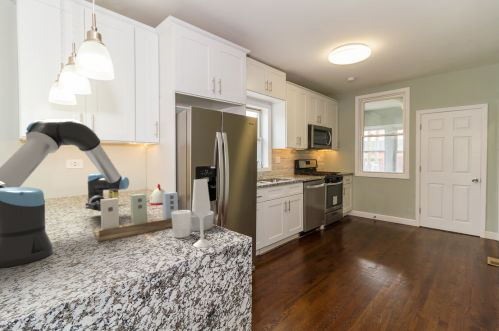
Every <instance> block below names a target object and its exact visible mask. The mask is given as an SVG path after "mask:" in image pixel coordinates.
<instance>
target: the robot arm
mask: <svg viewBox="0 0 499 331" xmlns="http://www.w3.org/2000/svg"><path fill="white" fill-rule="evenodd" d="M25 130H26V132H25V139H26V142H25V143H23V145H21V147H20V148H19V149H17V151H15V152H14V154H12V155H11V156H10V157H9V158H8V159H7V160H6V161H5V162H4V163H3V164H2V165H1V166H0V268H7V267H8V268H9V267H14V266H20V265H24V264H29V263H32V262H36V261H39V260H41V259H44V258H47V257H49V256H50V255H51V254H53V252H54V250H53V247H54V246H53V243H52V241H51V240H50V238H49V235H48V233H47V231H46V204H45V203H46V200H45V194H44V192H43V190H42V189H41V188H37V187H28V186H22V185H23V184H24V183H25V181H26V180H28V178H29V177H30V176H31V175H32V174H33V172H35V170H36V169H37V168H38V167H39V166H40V164H42V162H43V161H44V160H45V158H47V157H48V155H49V154H53V153H56V152H57V151H58V150H59V149H60V148H61V146H75V147H77V148H78V150H80V151H81V152H84V154H86V156H87V157H88V158H89V160H90V162H91V163H92V164H93V165H94V167H95V168H96V169H97V171H99V173H95V174H93V173H92V174H88V176H87V182H86V183H87V202H86V203H85V209H88V210H93V211H95V212H101V203H100V199H106V198H105V197H104V191H109V190H118V191H123V190H127V189H128V188H129V185H130V179H129V178H128V177H127V176H122V175H121V174H120V172H119V171H118V169H117V168H116V167H115V165H114V163H113V162H112V161H111V159H110V158H109V155H107V152H106V151H105V150H104V148H103V146H102V145H101V140H100V138H99V137H98V134H96V133H95V131H94V130H92V129H91V128H90V127H89V126H87V125H86V124H84V123H82V122H81V121H79V120H75V119H70V118H68V119H67V118H66V119H39V120H35V121H32V122H30V123H29V124H28V125H27V127H26V129H25Z"/></svg>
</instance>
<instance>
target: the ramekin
mask: <svg viewBox="0 0 499 331" xmlns="http://www.w3.org/2000/svg"><path fill="white" fill-rule="evenodd" d="M214 218H215V211H213V210H210V211H209V213H208V214H207V215H206V216H205V217H204V218H203V229H204V231H208V230H210V229H212V228H213V225H214ZM190 232H200V218H198V217H197V216H196V215H195V214H194V213H193V211H191V228H190Z"/></svg>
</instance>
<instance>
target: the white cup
mask: <svg viewBox="0 0 499 331" xmlns="http://www.w3.org/2000/svg"><path fill="white" fill-rule="evenodd" d="M191 212H192V210H189V209H178V210H177V211H173V212H171V215H172V227H171V228H172V232H173V238H175V239H182V238H188V237H189V236H191V230H190V228H191Z"/></svg>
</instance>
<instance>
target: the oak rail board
mask: <svg viewBox="0 0 499 331" xmlns="http://www.w3.org/2000/svg"><path fill="white" fill-rule="evenodd" d="M169 228H173V227H172V218H170V219H164V220H163V217H159V218H152V219H147V222H146V223H140V224H135V225H132V222H130V223H122V224H119V227H117V228H111V229H105V230H101V227H98V228H94V229H93V232H92V233H93V235H94V237H95V238H97V239H96V240H97V242H102V241H107V240H113V239H117V238H123V237H128V236H132V235H138V234H142V233H147V232H148V233H149V232H153V231H158V230H164V229H169Z"/></svg>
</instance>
